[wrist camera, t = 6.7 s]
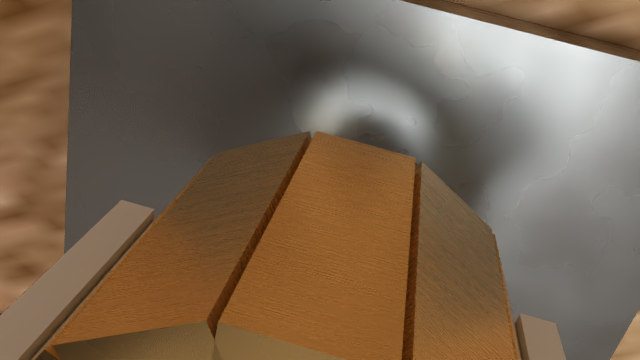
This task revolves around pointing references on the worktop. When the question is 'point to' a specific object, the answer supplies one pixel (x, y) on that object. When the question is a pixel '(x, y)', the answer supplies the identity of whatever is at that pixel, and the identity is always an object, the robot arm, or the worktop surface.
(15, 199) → the worktop surface
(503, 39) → the shaft stand
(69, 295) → the robot arm
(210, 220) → the ring
